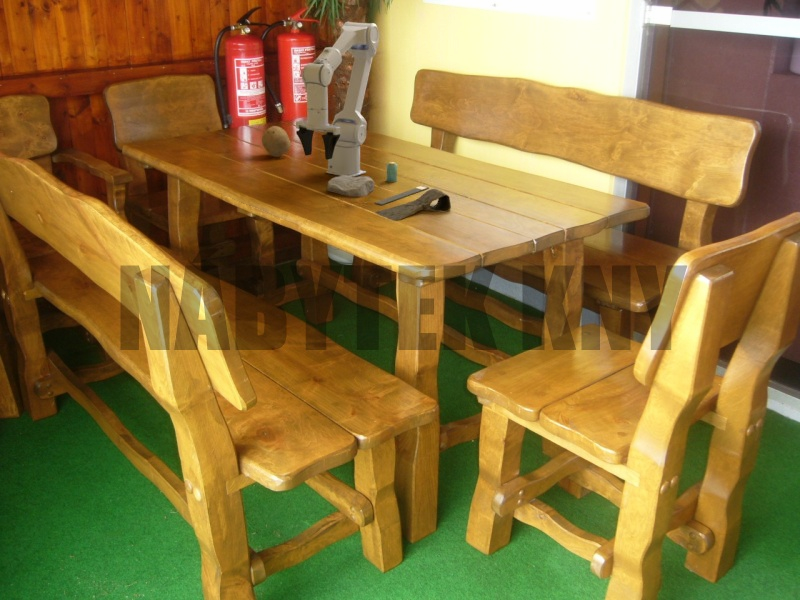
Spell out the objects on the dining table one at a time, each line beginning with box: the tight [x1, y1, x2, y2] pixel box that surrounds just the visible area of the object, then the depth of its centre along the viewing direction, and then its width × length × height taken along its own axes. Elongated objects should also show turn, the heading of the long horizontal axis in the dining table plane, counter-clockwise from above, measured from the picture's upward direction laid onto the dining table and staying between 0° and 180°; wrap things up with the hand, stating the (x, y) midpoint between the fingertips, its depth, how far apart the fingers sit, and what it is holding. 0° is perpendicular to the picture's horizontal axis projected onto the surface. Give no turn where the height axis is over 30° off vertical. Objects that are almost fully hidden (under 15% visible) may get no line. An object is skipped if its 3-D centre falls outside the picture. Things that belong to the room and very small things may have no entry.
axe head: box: [374, 188, 452, 222], centre depth 214 cm, size 21×5×10 cm
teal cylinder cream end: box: [386, 161, 398, 183], centre depth 242 cm, size 3×3×5 cm
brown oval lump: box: [261, 125, 291, 158], centre depth 266 cm, size 9×9×10 cm
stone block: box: [326, 175, 375, 198], centre depth 231 cm, size 12×5×10 cm
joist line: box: [374, 185, 430, 206], centre depth 228 cm, size 2×22×1 cm, turn 144°
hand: (318, 156), depth 233 cm, fingers open, 7 cm apart
